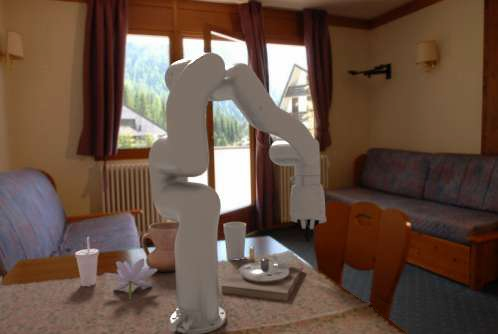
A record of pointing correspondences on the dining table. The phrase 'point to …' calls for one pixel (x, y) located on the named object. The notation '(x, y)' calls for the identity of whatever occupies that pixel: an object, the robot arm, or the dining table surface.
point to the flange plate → (268, 270)
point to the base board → (263, 285)
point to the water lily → (132, 275)
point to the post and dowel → (263, 261)
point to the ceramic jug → (161, 246)
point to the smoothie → (87, 265)
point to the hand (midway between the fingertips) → (308, 240)
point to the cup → (235, 239)
